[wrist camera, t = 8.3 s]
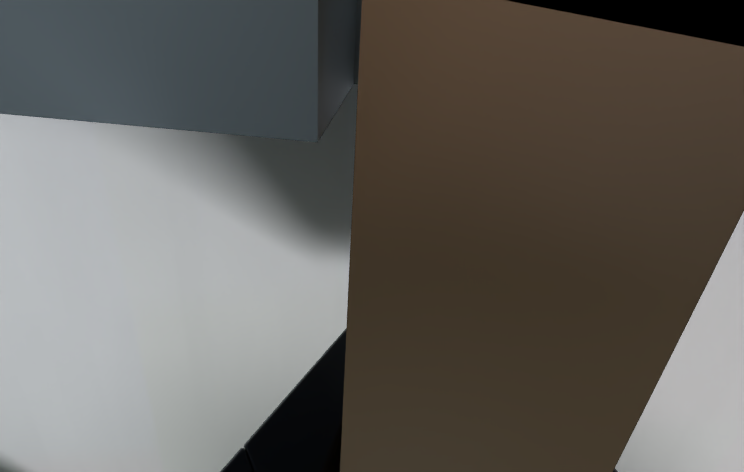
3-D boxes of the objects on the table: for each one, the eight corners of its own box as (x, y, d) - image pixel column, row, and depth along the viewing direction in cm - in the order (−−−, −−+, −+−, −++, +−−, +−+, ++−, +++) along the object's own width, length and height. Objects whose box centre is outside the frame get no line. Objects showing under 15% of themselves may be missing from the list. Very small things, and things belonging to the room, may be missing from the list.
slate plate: (1001, -10, 9) (1907, 17, 3) (929, 100, 10) (1541, 253, 4) (-29, -81, 10) (-571, -146, 4) (4, 25, 10) (-405, 76, 5)
